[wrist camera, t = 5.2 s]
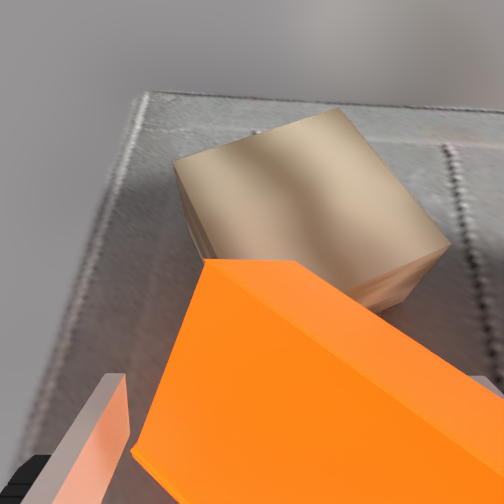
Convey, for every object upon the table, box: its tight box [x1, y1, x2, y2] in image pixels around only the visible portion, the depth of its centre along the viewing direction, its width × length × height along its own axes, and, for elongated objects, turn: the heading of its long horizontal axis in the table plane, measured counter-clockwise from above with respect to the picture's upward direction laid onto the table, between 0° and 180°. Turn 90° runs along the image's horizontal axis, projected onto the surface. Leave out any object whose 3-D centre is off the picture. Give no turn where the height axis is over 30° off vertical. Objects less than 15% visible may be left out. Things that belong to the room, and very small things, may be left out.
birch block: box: [172, 108, 451, 314], centre depth 27 cm, size 12×12×8 cm
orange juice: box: [130, 259, 504, 504], centre depth 15 cm, size 8×9×20 cm
